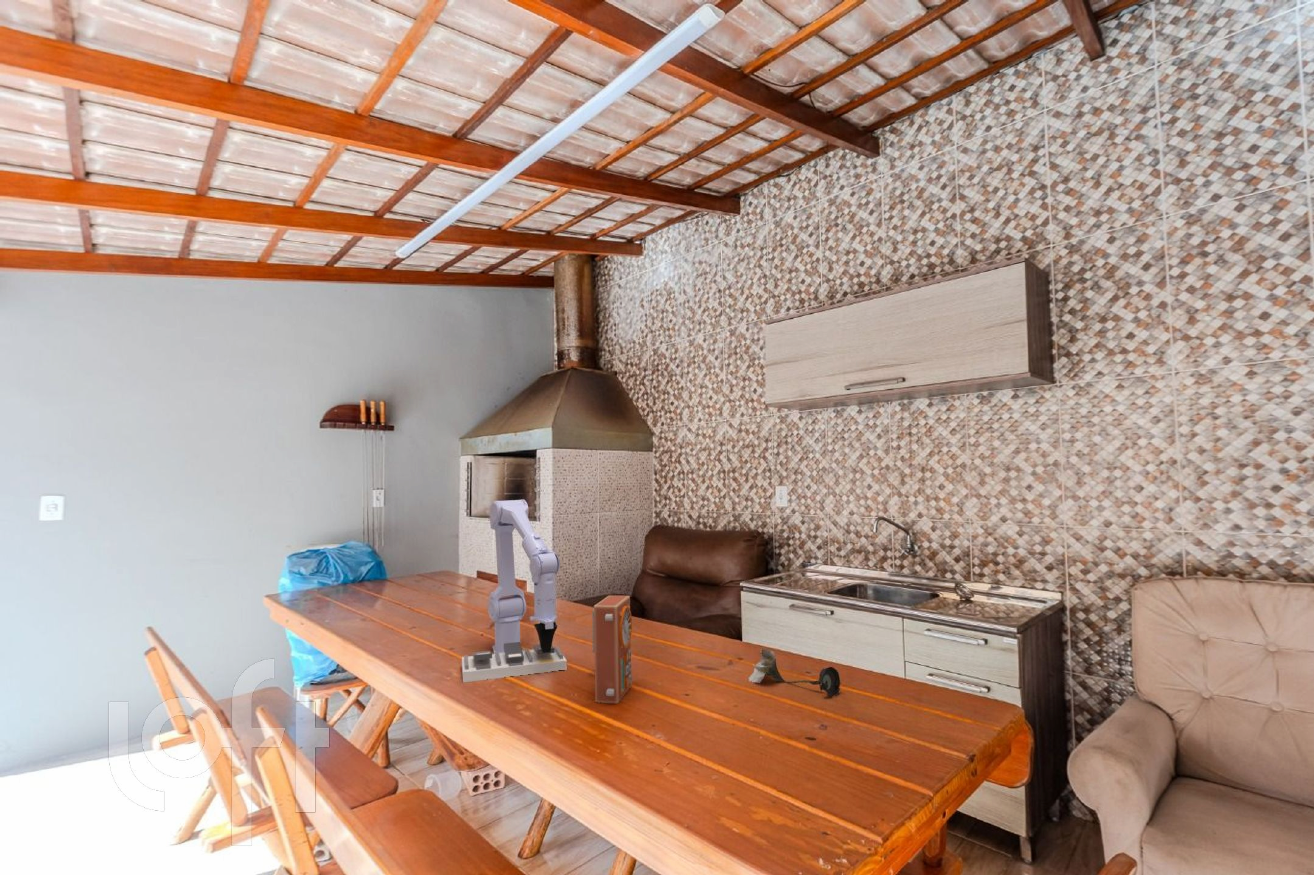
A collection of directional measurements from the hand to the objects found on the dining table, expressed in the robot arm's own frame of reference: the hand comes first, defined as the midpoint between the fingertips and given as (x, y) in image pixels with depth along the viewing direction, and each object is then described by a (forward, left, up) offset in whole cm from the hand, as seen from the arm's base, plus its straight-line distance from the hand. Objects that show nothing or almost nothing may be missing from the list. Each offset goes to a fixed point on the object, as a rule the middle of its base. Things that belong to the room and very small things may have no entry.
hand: (546, 651), depth 168 cm
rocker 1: (-4, -16, 0) cm, 17 cm away
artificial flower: (+35, +52, -5) cm, 63 cm away
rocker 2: (-4, 0, 0) cm, 4 cm away
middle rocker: (-4, -8, 0) cm, 9 cm away
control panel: (+25, +12, -5) cm, 28 cm away
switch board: (-4, -8, -5) cm, 10 cm away
